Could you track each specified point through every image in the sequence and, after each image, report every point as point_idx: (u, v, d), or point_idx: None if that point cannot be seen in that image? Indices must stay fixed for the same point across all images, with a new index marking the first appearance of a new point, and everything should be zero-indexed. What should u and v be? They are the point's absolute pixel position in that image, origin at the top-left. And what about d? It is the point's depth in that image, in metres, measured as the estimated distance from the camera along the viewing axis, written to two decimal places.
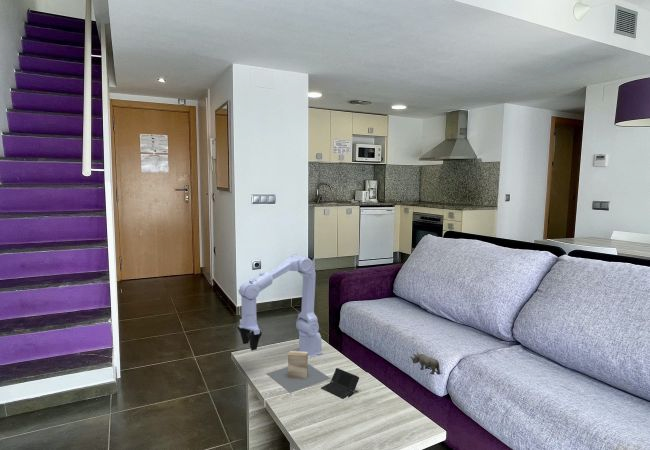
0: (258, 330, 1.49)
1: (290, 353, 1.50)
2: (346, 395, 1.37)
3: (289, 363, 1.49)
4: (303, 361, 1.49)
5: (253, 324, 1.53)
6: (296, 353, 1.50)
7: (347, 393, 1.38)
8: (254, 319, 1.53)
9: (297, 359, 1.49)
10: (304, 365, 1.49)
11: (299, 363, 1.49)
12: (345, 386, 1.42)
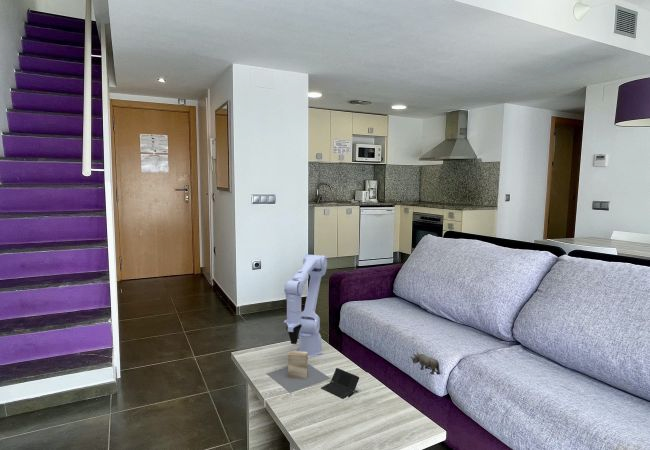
0: (291, 328, 1.50)
1: (290, 353, 1.50)
2: (346, 395, 1.37)
3: (289, 363, 1.49)
4: (303, 361, 1.49)
5: (293, 322, 1.54)
6: (296, 353, 1.50)
7: (347, 393, 1.38)
8: (295, 317, 1.54)
9: (297, 359, 1.49)
10: (304, 365, 1.49)
11: (299, 363, 1.49)
12: (345, 386, 1.42)
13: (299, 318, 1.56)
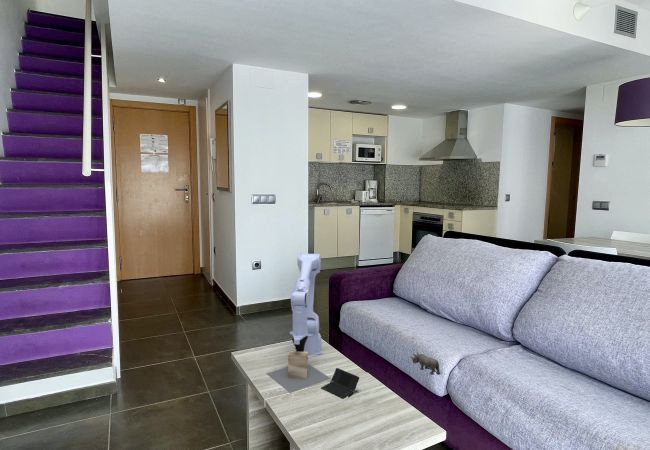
0: (297, 340, 1.47)
1: (290, 353, 1.50)
2: (346, 395, 1.37)
3: (289, 363, 1.49)
4: (303, 361, 1.49)
5: (300, 333, 1.51)
6: (296, 353, 1.50)
7: (347, 393, 1.38)
8: (301, 329, 1.51)
9: (297, 359, 1.49)
10: (304, 365, 1.49)
11: (299, 363, 1.49)
12: (345, 386, 1.42)
13: (305, 330, 1.53)
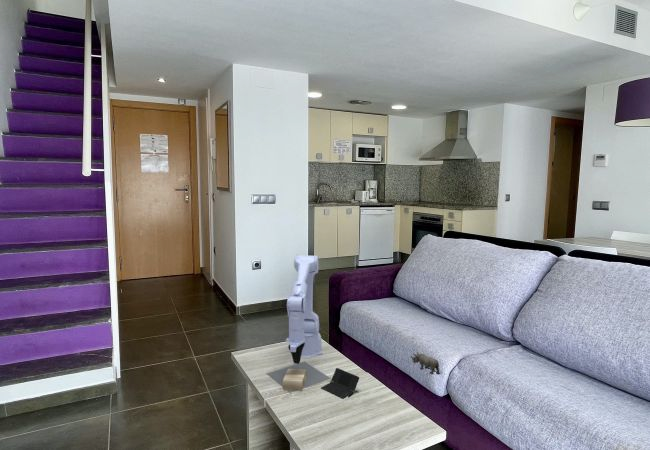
0: (294, 348, 1.40)
1: (284, 386, 1.41)
2: (346, 395, 1.37)
3: None
4: None
5: (296, 340, 1.45)
6: (291, 386, 1.41)
7: (347, 393, 1.38)
8: (298, 335, 1.45)
9: None
10: None
11: None
12: (345, 386, 1.42)
13: (302, 336, 1.46)
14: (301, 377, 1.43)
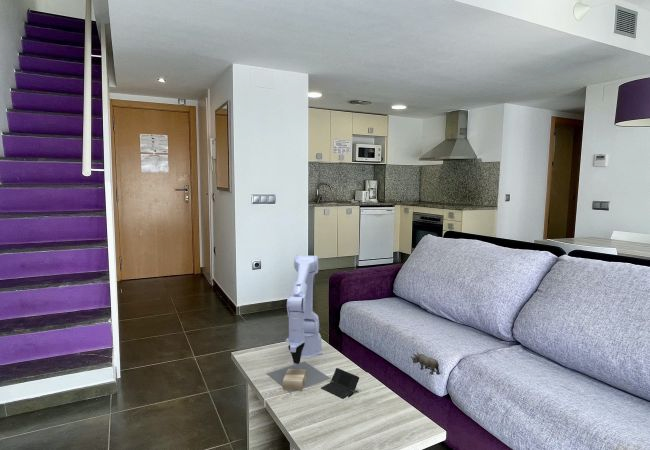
0: (294, 348, 1.40)
1: (284, 386, 1.41)
2: (346, 395, 1.37)
3: None
4: None
5: (296, 341, 1.45)
6: (291, 386, 1.41)
7: (347, 393, 1.38)
8: (298, 336, 1.44)
9: None
10: None
11: None
12: (345, 386, 1.42)
13: (302, 336, 1.46)
14: (301, 377, 1.43)
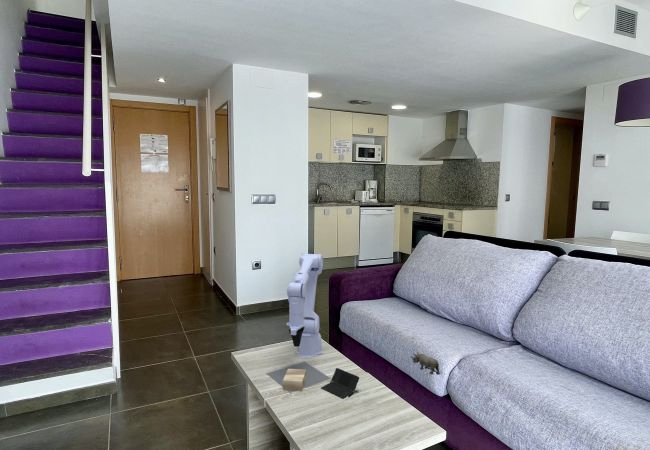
0: (294, 331, 1.48)
1: (284, 386, 1.41)
2: (346, 395, 1.37)
3: None
4: None
5: (296, 324, 1.52)
6: (291, 386, 1.41)
7: (347, 393, 1.38)
8: (298, 320, 1.52)
9: None
10: None
11: None
12: (345, 386, 1.42)
13: (302, 320, 1.53)
14: (301, 377, 1.43)
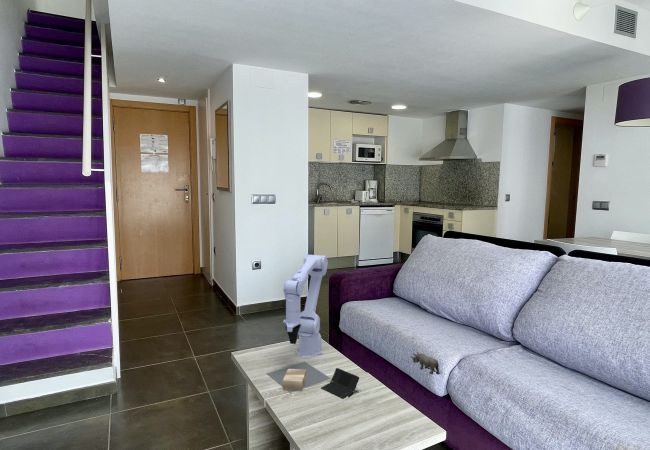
0: (290, 328, 1.50)
1: (284, 386, 1.41)
2: (346, 395, 1.37)
3: None
4: None
5: (293, 321, 1.55)
6: (291, 386, 1.41)
7: (347, 393, 1.38)
8: (294, 317, 1.55)
9: None
10: None
11: None
12: (345, 386, 1.42)
13: (298, 318, 1.56)
14: (301, 377, 1.43)
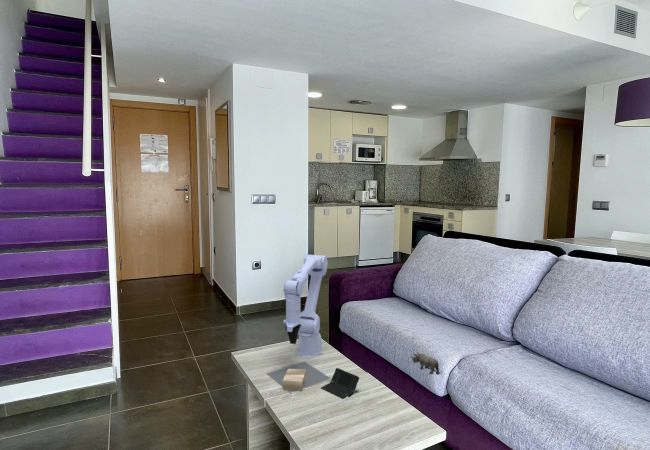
0: (290, 328, 1.50)
1: (284, 386, 1.41)
2: (346, 395, 1.37)
3: None
4: None
5: (293, 321, 1.55)
6: (291, 386, 1.41)
7: (347, 393, 1.38)
8: (294, 317, 1.55)
9: None
10: None
11: None
12: (345, 386, 1.42)
13: (298, 318, 1.56)
14: (301, 377, 1.43)
